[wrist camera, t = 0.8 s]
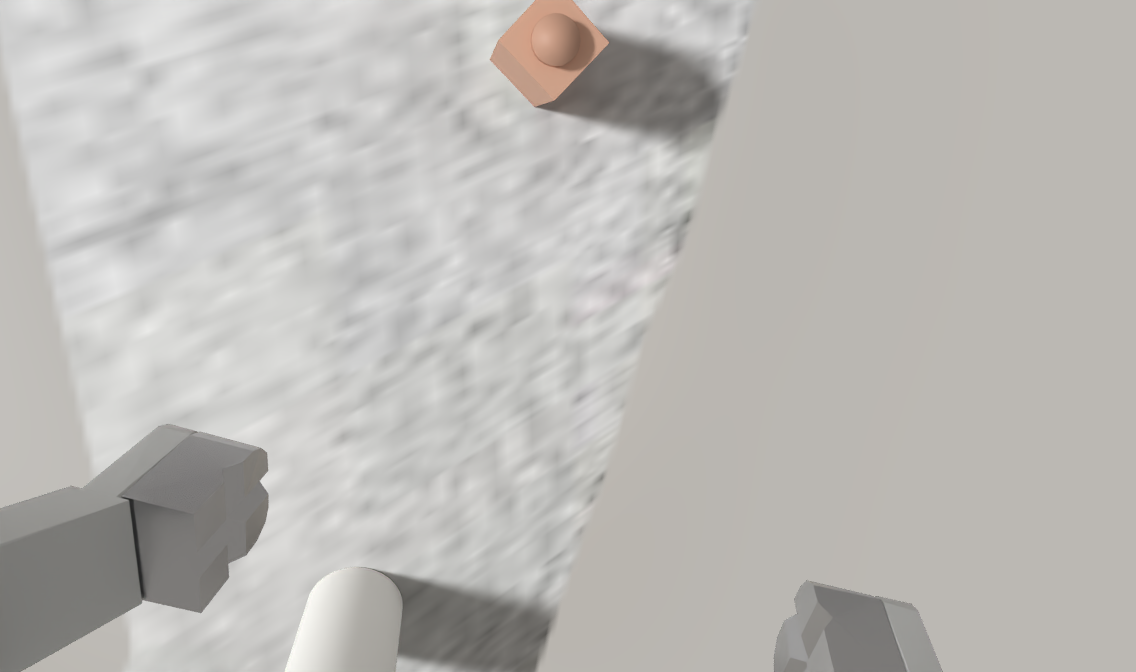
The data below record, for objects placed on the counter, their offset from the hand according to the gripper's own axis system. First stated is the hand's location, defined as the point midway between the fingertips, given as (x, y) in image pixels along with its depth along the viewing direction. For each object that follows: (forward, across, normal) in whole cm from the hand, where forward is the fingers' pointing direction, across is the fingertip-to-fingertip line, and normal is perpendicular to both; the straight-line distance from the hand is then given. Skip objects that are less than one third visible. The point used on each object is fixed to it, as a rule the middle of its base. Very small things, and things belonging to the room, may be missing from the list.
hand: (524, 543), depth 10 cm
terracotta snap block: (+40, +8, -2) cm, 40 cm away
